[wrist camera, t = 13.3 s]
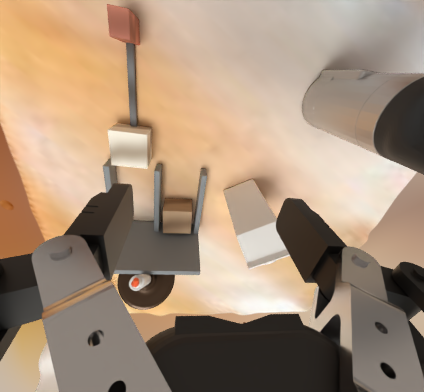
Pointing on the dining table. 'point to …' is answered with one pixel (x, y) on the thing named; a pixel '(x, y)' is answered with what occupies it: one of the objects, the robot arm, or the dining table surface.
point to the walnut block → (177, 215)
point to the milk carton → (254, 225)
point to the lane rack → (159, 237)
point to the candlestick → (145, 289)
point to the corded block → (124, 133)
